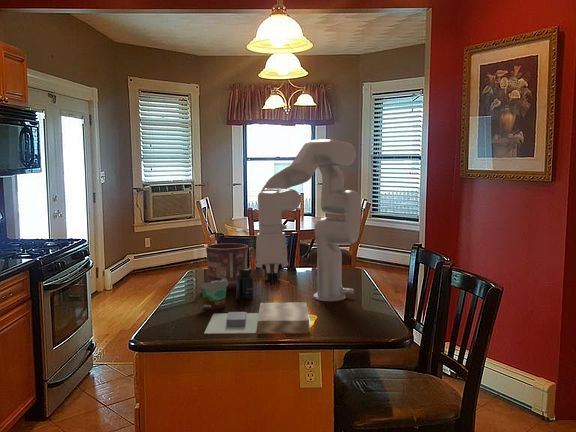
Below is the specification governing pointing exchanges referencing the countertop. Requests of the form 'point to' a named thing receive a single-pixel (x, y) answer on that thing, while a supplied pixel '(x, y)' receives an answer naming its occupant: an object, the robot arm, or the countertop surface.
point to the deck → (283, 318)
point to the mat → (219, 327)
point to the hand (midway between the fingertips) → (272, 284)
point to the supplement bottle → (245, 285)
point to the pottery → (226, 262)
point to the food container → (214, 293)
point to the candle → (272, 272)
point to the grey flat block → (236, 319)
